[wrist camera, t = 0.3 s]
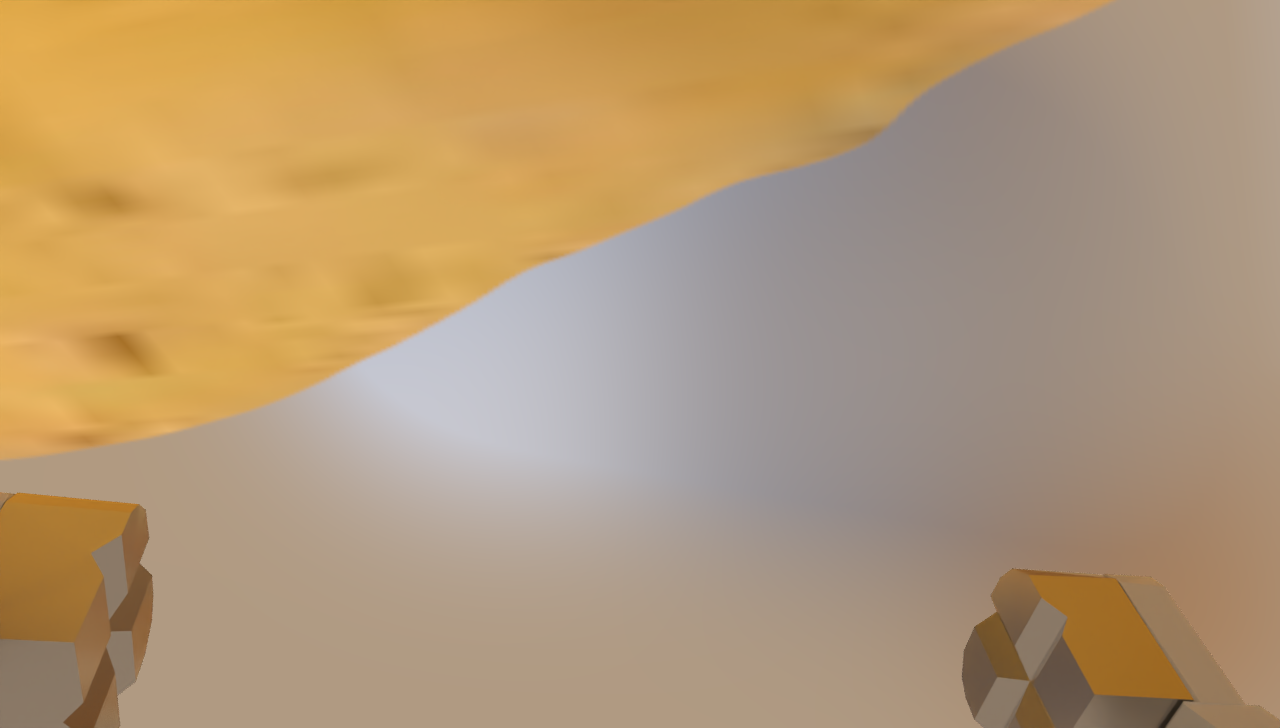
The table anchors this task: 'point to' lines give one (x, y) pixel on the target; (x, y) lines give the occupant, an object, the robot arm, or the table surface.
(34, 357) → the table surface
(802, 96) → the table surface
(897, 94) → the table surface
